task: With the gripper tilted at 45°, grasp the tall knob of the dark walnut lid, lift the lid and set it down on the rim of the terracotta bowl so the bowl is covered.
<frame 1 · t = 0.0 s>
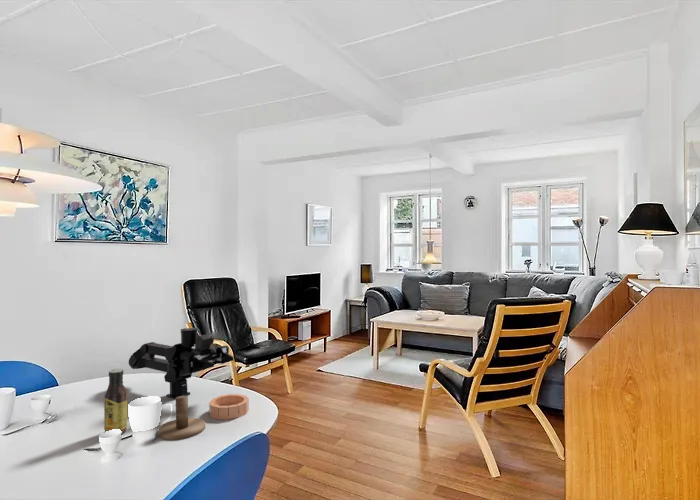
hand: (223, 361, 154), 17 cm above the table, tool horizontal, fingers open, 9 cm apart
sauce bottle: (116, 433, 134), on the table
walnut lid: (182, 430, 136), on the table
terracotta bowl: (229, 411, 150), on the table
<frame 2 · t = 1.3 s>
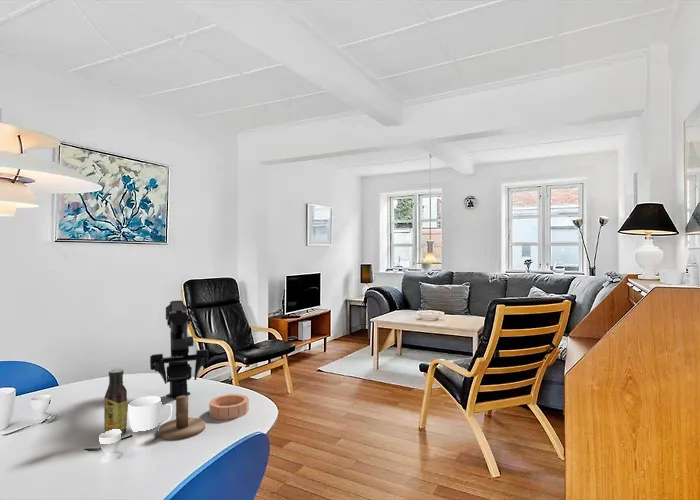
hand: (180, 381, 143), 13 cm above the table, tool tilted 45°, fingers open, 9 cm apart
nothing on the table moved.
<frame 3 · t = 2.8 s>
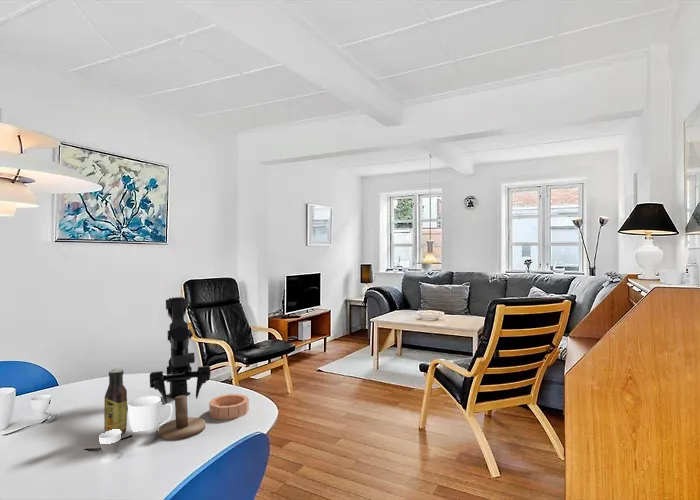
hand: (181, 400, 137), 9 cm above the table, tool tilted 45°, fingers open, 9 cm apart
nothing on the table moved.
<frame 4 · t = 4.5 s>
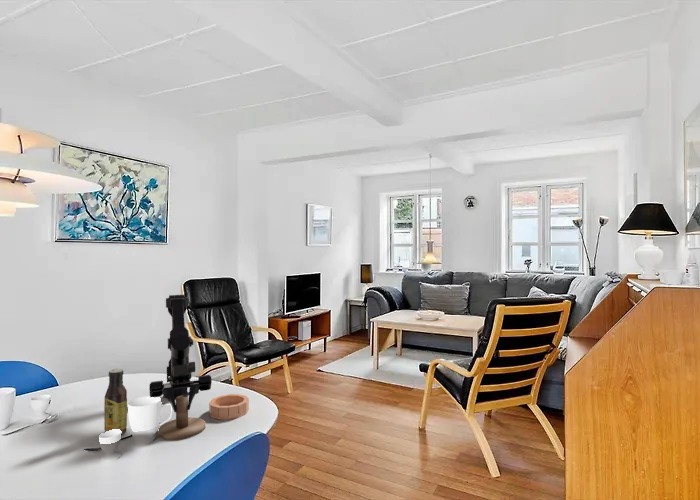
hand: (182, 410, 135), 7 cm above the table, tool tilted 45°, fingers closed on walnut lid, 4 cm apart
walnut lid: (182, 430, 136), on the table, touching gripper
everything else where it was.
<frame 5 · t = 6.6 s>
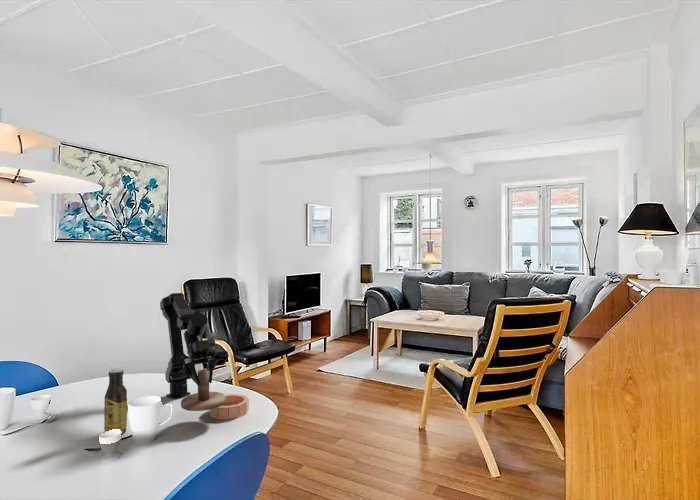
hand: (204, 383, 140), 13 cm above the table, tool tilted 45°, fingers closed on walnut lid, 4 cm apart
walnut lid: (203, 402, 141), point 7 cm above the table, touching gripper
everything else where it was.
when the fingers open (11 cm above the table, at t = 8.5 s): walnut lid stays where it is, resting on terracotta bowl.
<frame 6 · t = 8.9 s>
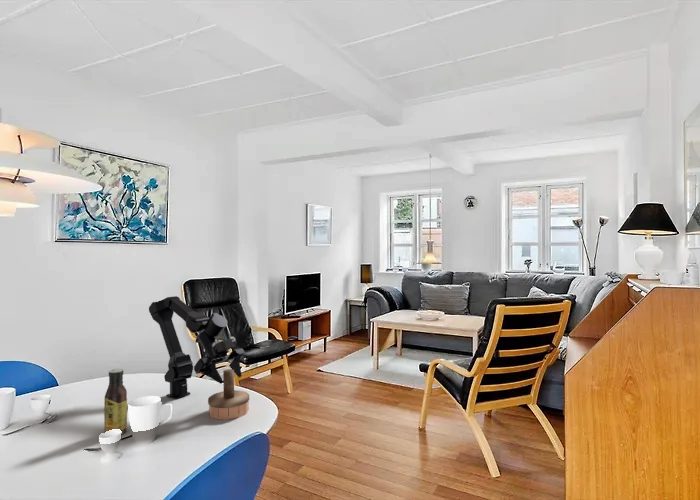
hand: (231, 379, 150), 12 cm above the table, tool tilted 45°, fingers open, 8 cm apart
walnut lid: (228, 400, 150), point 4 cm above the table, touching terracotta bowl
everything else where it was.
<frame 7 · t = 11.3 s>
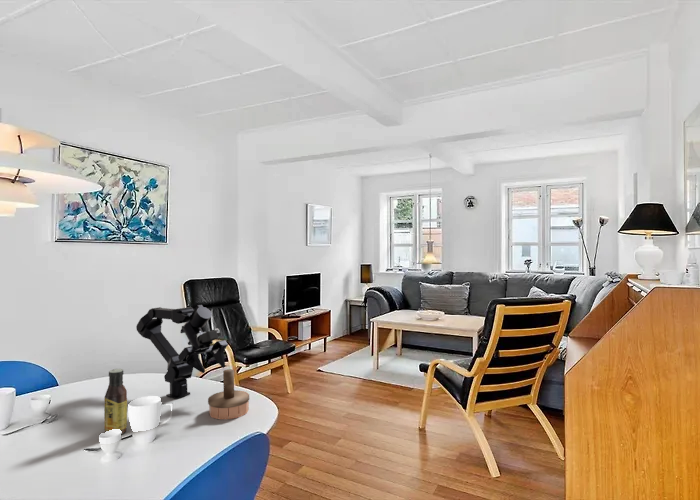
hand: (214, 369, 155), 13 cm above the table, tool tilted 45°, fingers open, 9 cm apart
nothing on the table moved.
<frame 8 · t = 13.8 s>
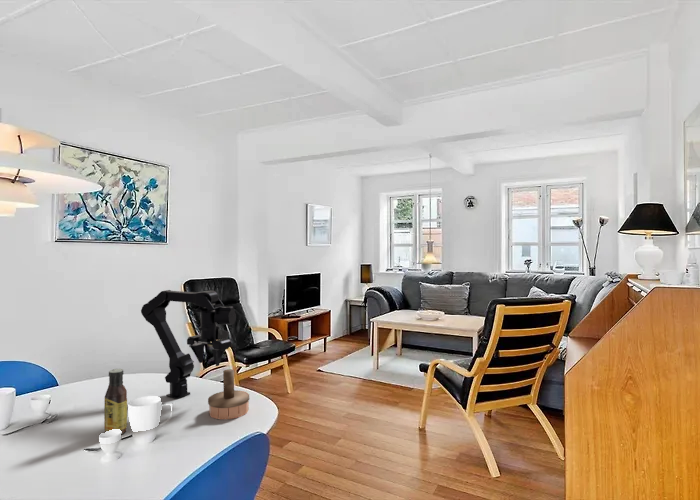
hand: (209, 364, 164), 13 cm above the table, tool pointing down, fingers open, 9 cm apart
nothing on the table moved.
at the end: walnut lid 0.1 cm off-centre on the terracotta bowl, point 4.0 cm above the terracotta bowl's base; walnut lid tilted 0°; the gripper is holding nothing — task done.
